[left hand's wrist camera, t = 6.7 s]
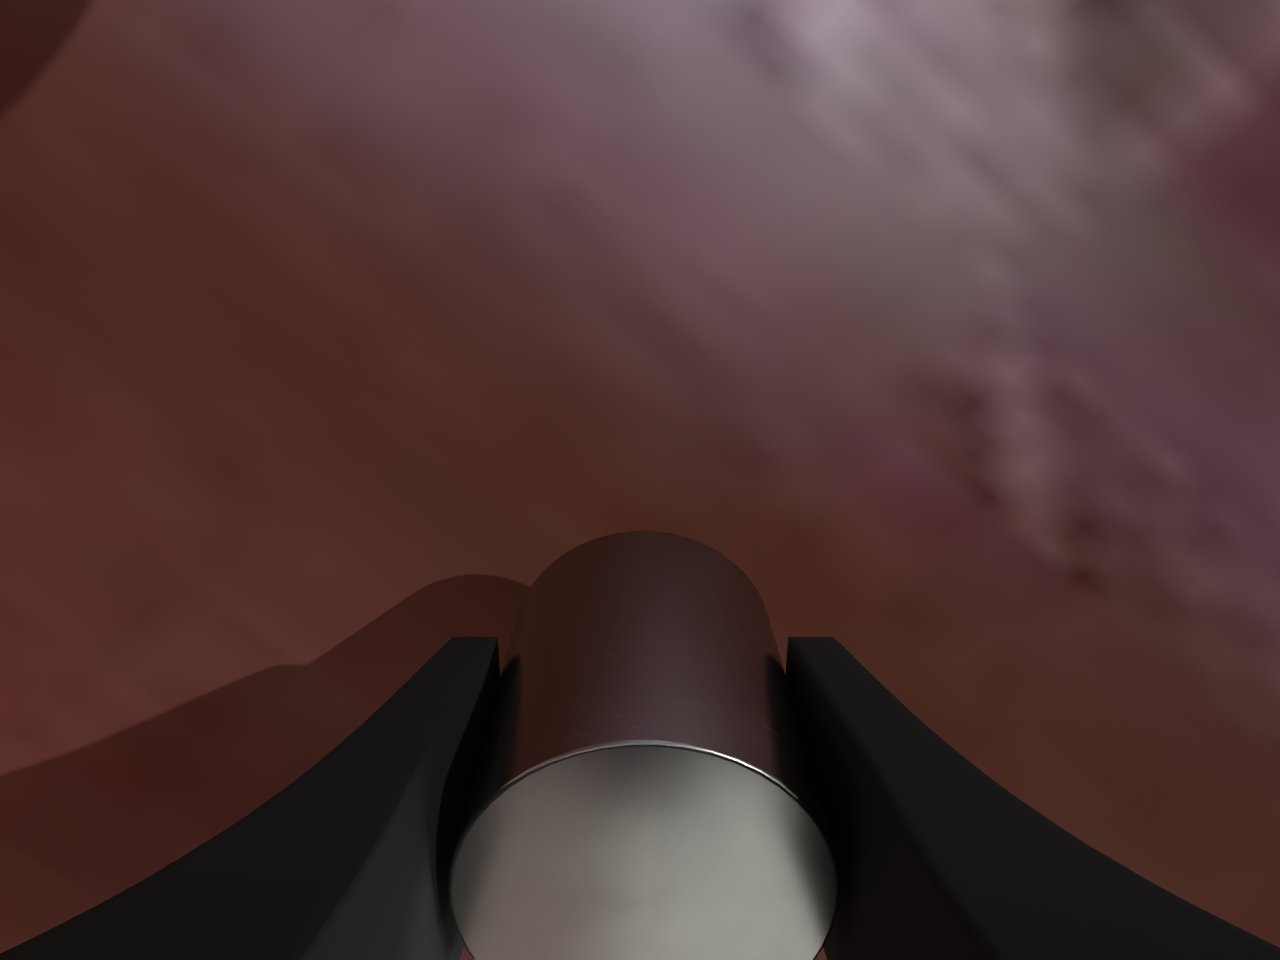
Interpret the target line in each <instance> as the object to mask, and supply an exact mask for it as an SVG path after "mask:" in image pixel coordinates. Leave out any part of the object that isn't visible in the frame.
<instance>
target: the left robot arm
mask: <svg viewBox="0 0 1280 960" xmlns="http://www.w3.org/2000/svg"><path fill="white" fill-rule="evenodd" d="M785 676H786V679H787V683H788V687H789V690H790V694H791V697H792V701H793V704H794V708H795V711H796V715H797V718H798V722H799V726H800V729H801V733H802V736H803V740H804V743H805V747H806V750H807V754H808V757H809V761H810V765H811V768H812V772H813V775H814V779H815V782H816V786H817V789H818V793H819V796H820V800H821V804H822V807H823V811H824V814H825V818H826V821H827V825H828V828H829V832H830V835H831V839H832V843H833V846H834V850H835V854H836V858H837V862H838V866H839V875H840V895H839V904H838V910H837V914H836V917H835V920H834V924H833V927H832V930H831V932H830V934H829V936H828V938H827V940H826V942H825V945H824V946H823V947H824V951H825V954H826V958H827V960H1280V948H1279V947H1277V946H1275V945H1273V944H1271V943H1269V942H1266V941H1264V940H1262V939H1260V938H1258V937H1256V936H1254V935H1252V934H1250V933H1248V932H1246V931H1244V930H1242V929H1240V928H1238V927H1236V926H1234V925H1232V924H1230V923H1228V922H1226V921H1224V920H1222V919H1220V918H1218V917H1216V916H1214V915H1212V914H1210V913H1208V912H1206V911H1204V910H1202V909H1200V908H1198V907H1196V906H1194V905H1193V904H1191V903H1189V902H1187V901H1185V900H1183V899H1181V898H1180V897H1178V896H1176V895H1174V894H1172V893H1170V892H1168V891H1167V890H1165V889H1163V888H1161V887H1159V886H1157V885H1155V884H1154V883H1152V882H1150V881H1148V880H1147V879H1145V878H1143V877H1141V876H1140V875H1138V874H1136V873H1135V872H1133V871H1131V870H1130V869H1128V868H1126V867H1124V866H1123V865H1121V864H1119V863H1118V862H1116V861H1114V860H1113V859H1111V858H1109V857H1107V856H1106V855H1104V854H1102V853H1101V852H1099V851H1097V850H1096V849H1094V848H1092V847H1090V846H1089V845H1087V844H1086V843H1084V842H1083V841H1081V840H1079V839H1078V838H1076V837H1075V836H1073V835H1071V834H1070V833H1068V832H1067V831H1065V830H1064V829H1062V828H1061V827H1059V826H1057V825H1056V824H1055V823H1053V822H1052V821H1050V820H1049V819H1047V818H1046V817H1044V816H1043V815H1042V814H1040V813H1039V812H1037V811H1036V810H1034V809H1033V808H1031V807H1030V806H1028V805H1027V804H1026V803H1024V802H1023V801H1021V800H1020V799H1018V798H1017V797H1015V796H1014V795H1012V794H1011V793H1010V792H1008V791H1007V790H1006V789H1004V788H1003V787H1002V786H1000V785H999V784H998V783H996V782H995V781H993V780H992V779H991V778H990V777H988V776H987V775H986V774H984V773H983V772H982V771H981V770H979V769H978V768H977V767H976V766H974V765H973V764H972V763H971V762H969V761H968V760H967V759H966V758H964V757H963V756H962V755H961V754H959V753H958V752H957V751H956V750H954V749H953V748H952V747H951V746H950V745H948V744H947V743H946V742H945V741H944V740H942V739H941V738H940V737H939V736H938V735H937V734H935V733H934V732H933V731H932V730H931V729H930V728H929V727H927V726H926V725H925V724H924V723H923V722H922V721H921V720H920V719H918V718H917V717H916V716H915V715H914V714H913V713H912V712H911V711H910V710H909V709H907V708H906V707H905V706H904V705H903V704H902V703H901V702H900V701H899V700H898V699H897V698H896V697H894V696H893V695H892V694H891V693H890V692H889V691H888V690H887V689H886V688H885V687H884V686H883V685H882V684H881V683H880V682H879V681H878V680H877V679H876V678H875V677H874V676H873V675H872V674H871V673H870V672H869V671H867V670H866V669H865V668H864V667H863V666H862V665H861V664H860V663H859V662H858V661H857V660H856V659H855V658H854V657H853V656H852V655H851V654H850V653H849V652H848V651H847V650H846V649H845V648H844V647H843V646H842V645H841V644H840V643H839V642H838V641H837V640H836V639H835V638H834V637H788V649H787V662H786V675H785ZM499 682H500V668H499V655H498V641H497V637H452V638H451V639H450V640H449V641H448V642H447V643H446V644H445V645H444V646H443V647H442V648H441V649H440V650H439V651H438V652H437V653H436V654H434V655H433V656H432V657H431V658H430V659H429V660H428V661H427V662H426V663H425V664H424V665H423V666H422V667H421V668H420V669H419V670H418V671H417V672H416V673H415V674H414V675H413V676H412V677H411V678H410V679H409V680H408V681H407V682H406V683H405V684H404V685H403V686H402V687H401V688H400V689H399V690H398V691H397V692H396V693H395V694H394V695H393V696H392V697H391V698H390V699H389V700H388V701H387V702H386V703H385V704H383V705H382V706H381V707H380V708H379V709H378V710H377V711H376V712H375V713H374V714H373V715H372V716H371V717H370V718H369V719H368V720H366V721H365V722H364V723H363V724H362V725H361V726H360V727H359V728H358V729H357V730H355V731H354V732H353V733H352V734H351V735H350V736H348V737H347V738H346V739H345V740H344V741H343V742H341V743H340V744H339V745H338V746H337V747H336V748H334V749H333V750H332V751H331V752H330V753H328V754H327V755H326V756H325V757H324V758H323V759H321V760H320V761H319V762H318V763H317V764H316V765H314V766H313V767H312V768H311V769H309V770H308V771H307V772H306V773H304V774H303V775H302V776H301V777H299V778H298V779H297V780H295V781H294V782H293V783H291V784H290V785H289V786H287V787H286V788H285V789H283V790H282V791H281V792H279V793H278V794H277V795H275V796H274V797H272V798H271V799H270V800H268V801H267V802H265V803H264V804H263V805H261V806H260V807H258V808H257V809H255V810H254V811H253V812H251V813H250V814H248V815H247V816H246V817H244V818H243V819H241V820H240V821H238V822H237V823H235V824H234V825H232V826H231V827H229V828H228V829H226V830H225V831H223V832H222V833H220V834H218V835H217V836H215V837H213V838H212V839H210V840H208V841H207V842H205V843H204V844H202V845H200V846H199V847H197V848H195V849H194V850H192V851H191V852H189V853H187V854H186V855H184V856H182V857H181V858H179V859H178V860H176V861H174V862H173V863H171V864H169V865H168V866H166V867H164V868H163V869H161V870H160V871H158V872H156V873H155V874H153V875H151V876H150V877H148V878H146V879H145V880H143V881H141V882H139V883H138V884H136V885H134V886H132V887H130V888H128V889H127V890H125V891H123V892H121V893H119V894H117V895H116V896H114V897H112V898H110V899H108V900H106V901H105V902H103V903H101V904H99V905H97V906H95V907H94V908H92V909H90V910H88V911H86V912H84V913H82V914H80V915H78V916H76V917H74V918H72V919H70V920H68V921H66V922H64V923H62V924H60V925H58V926H56V927H54V928H52V929H51V930H49V931H47V932H45V933H43V934H41V935H39V936H36V937H34V938H32V939H30V940H28V941H26V942H24V943H22V944H20V945H18V946H16V947H14V948H12V949H10V950H7V951H5V952H3V953H1V954H0V960H460V956H461V952H462V949H463V945H464V943H463V941H462V939H461V937H460V935H459V933H458V931H457V929H456V925H455V922H454V918H453V915H452V912H451V907H450V899H449V890H448V887H449V870H450V866H451V861H452V857H453V853H454V849H455V845H456V841H457V838H458V834H459V830H460V827H461V823H462V819H463V815H464V812H465V808H466V804H467V801H468V797H469V793H470V790H471V786H472V782H473V778H474V775H475V771H476V767H477V764H478V760H479V756H480V752H481V749H482V745H483V741H484V738H485V734H486V730H487V726H488V723H489V719H490V715H491V712H492V708H493V704H494V700H495V697H496V693H497V689H498V686H499Z"/></svg>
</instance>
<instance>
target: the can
mask: <svg viewBox="0 0 1280 960" xmlns="http://www.w3.org/2000/svg"><path fill="white" fill-rule="evenodd" d="M448 890H449V899H450V907H451V912H452V915H453V918H454V922H455V925H456V929H457V931H458V933H459V935H460V937H461V939H462V941H463V943H464V946H465V947H466V949H467V950H468V952H469V953H470V955H471V956H472V958H473V959H474V960H815V958H816V957H817V955H818V954H819V952H820V951H821V949H822V948H823V946H824V945H825V942H826V940H827V938H828V936H829V934H830V932H831V930H832V927H833V924H834V920H835V917H836V914H837V910H838V904H839V895H840V875H839V866H838V862H837V858H836V854H835V850H834V846H833V843H832V839H831V835H830V832H829V828H828V825H827V821H826V818H825V814H824V811H823V807H822V804H821V800H820V796H819V793H818V789H817V786H816V782H815V779H814V775H813V772H812V768H811V765H810V761H809V757H808V754H807V750H806V747H805V743H804V740H803V736H802V733H801V729H800V726H799V722H798V718H797V715H796V711H795V708H794V704H793V701H792V697H791V694H790V690H789V687H788V683H787V679H786V676H785V672H784V669H783V665H782V662H781V658H780V655H779V651H778V648H777V644H776V640H775V637H774V633H773V630H772V626H771V623H770V619H769V616H768V612H767V610H766V607H765V605H764V602H763V600H762V598H761V596H760V594H759V593H758V591H757V589H756V588H755V586H754V584H753V583H752V582H751V581H750V579H749V578H748V577H747V576H746V575H745V573H744V572H743V571H742V570H741V569H740V568H738V567H737V566H736V565H735V564H734V563H733V562H732V561H731V560H729V559H728V558H726V557H725V556H724V555H722V554H721V553H719V552H718V551H716V550H714V549H712V548H710V547H708V546H706V545H705V544H703V543H700V542H697V541H695V540H692V539H689V538H687V537H683V536H679V535H674V534H670V533H663V532H654V531H631V532H623V533H616V534H612V535H607V536H603V537H599V538H597V539H594V540H591V541H589V542H586V543H584V544H581V545H579V546H578V547H576V548H574V549H572V550H570V551H568V552H567V553H565V554H564V555H562V556H561V557H560V558H558V559H557V560H555V561H554V562H553V563H552V564H551V565H550V566H549V567H548V568H546V569H545V570H544V571H543V572H542V573H541V574H540V576H539V577H538V578H537V579H536V581H535V582H534V583H533V584H532V586H531V587H530V589H529V591H528V592H527V594H526V596H525V598H524V600H523V602H522V604H521V607H520V609H519V612H518V615H517V619H516V622H515V626H514V630H513V634H512V637H511V641H510V645H509V648H508V652H507V656H506V660H505V663H504V667H503V671H502V674H501V678H500V682H499V686H498V689H497V693H496V697H495V700H494V704H493V708H492V712H491V715H490V719H489V723H488V726H487V730H486V734H485V738H484V741H483V745H482V749H481V752H480V756H479V760H478V764H477V767H476V771H475V775H474V778H473V782H472V786H471V790H470V793H469V797H468V801H467V804H466V808H465V812H464V815H463V819H462V823H461V827H460V830H459V834H458V838H457V841H456V845H455V849H454V853H453V857H452V861H451V866H450V870H449V887H448Z"/></svg>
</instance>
